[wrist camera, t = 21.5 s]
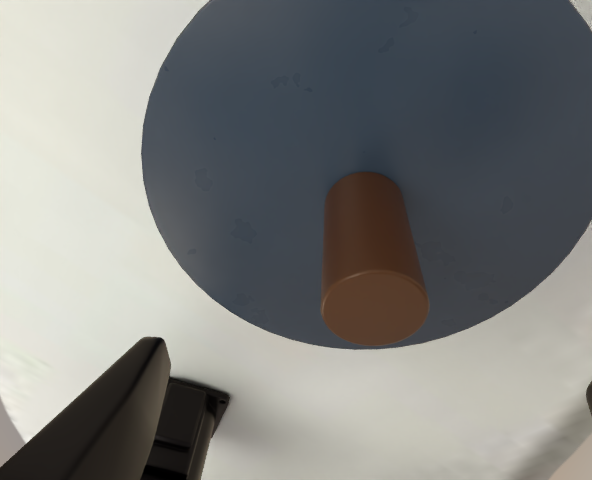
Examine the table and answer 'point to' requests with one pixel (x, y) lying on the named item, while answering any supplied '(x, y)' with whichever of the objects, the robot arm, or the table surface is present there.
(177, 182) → the pot lid
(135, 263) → the table surface
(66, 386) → the table surface
